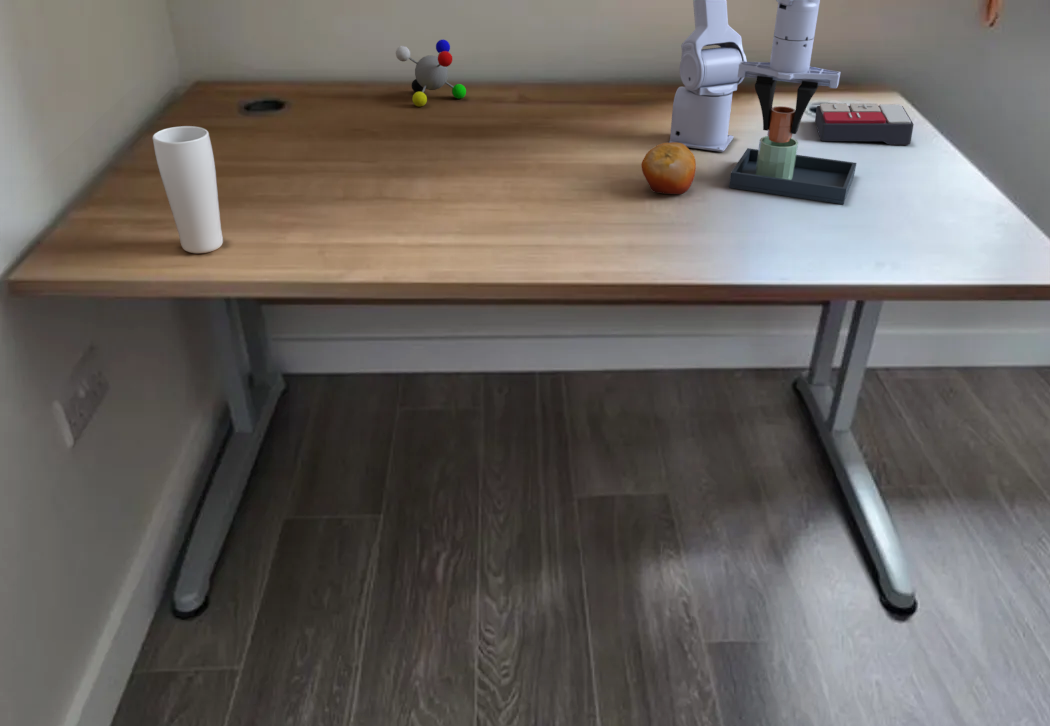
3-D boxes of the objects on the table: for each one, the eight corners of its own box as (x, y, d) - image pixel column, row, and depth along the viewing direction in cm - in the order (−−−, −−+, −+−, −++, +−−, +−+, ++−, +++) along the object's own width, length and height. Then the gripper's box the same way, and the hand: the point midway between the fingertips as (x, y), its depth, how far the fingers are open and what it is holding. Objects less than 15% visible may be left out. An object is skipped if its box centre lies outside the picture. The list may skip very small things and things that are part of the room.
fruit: (702, 171, 150) (701, 135, 143) (690, 212, 147) (688, 178, 140) (651, 165, 153) (647, 129, 145) (638, 205, 149) (634, 170, 142)
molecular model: (389, 104, 182) (385, 49, 177) (422, 87, 192) (419, 34, 186) (443, 112, 179) (441, 57, 173) (474, 94, 188) (473, 41, 183)
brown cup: (765, 141, 148) (769, 111, 145) (769, 134, 150) (773, 105, 148) (788, 144, 146) (793, 114, 144) (793, 137, 149) (797, 107, 147)
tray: (728, 187, 149) (730, 172, 148) (745, 162, 158) (747, 148, 157) (843, 204, 144) (846, 189, 143) (853, 177, 153) (856, 162, 152)
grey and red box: (816, 101, 175) (903, 100, 173) (814, 125, 177) (899, 125, 175) (823, 119, 166) (915, 119, 164) (820, 144, 168) (910, 145, 166)
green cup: (752, 179, 150) (756, 144, 147) (759, 167, 155) (764, 133, 152) (789, 184, 149) (794, 149, 146) (795, 172, 153) (800, 138, 150)
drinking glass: (182, 236, 131) (159, 125, 123) (234, 235, 132) (214, 125, 123) (170, 258, 126) (145, 143, 117) (224, 256, 126) (202, 142, 118)
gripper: (738, 37, 139) (727, 131, 147) (841, 47, 135) (824, 144, 142) (748, 27, 145) (737, 118, 152) (848, 36, 140) (831, 130, 148)
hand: (780, 130), depth 148 cm, fingers closed on brown cup, 3 cm apart
